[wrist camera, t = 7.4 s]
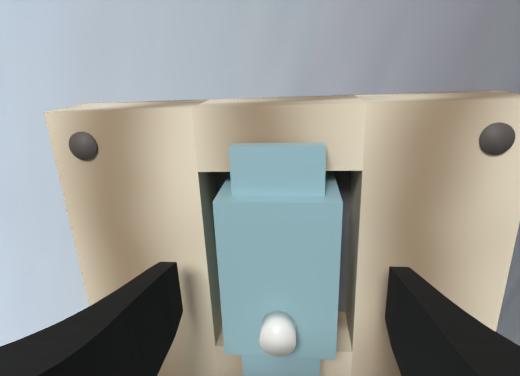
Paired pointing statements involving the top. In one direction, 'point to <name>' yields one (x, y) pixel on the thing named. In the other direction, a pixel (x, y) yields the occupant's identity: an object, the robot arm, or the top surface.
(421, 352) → the robot arm
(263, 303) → the servo block
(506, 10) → the top surface
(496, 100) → the plate
